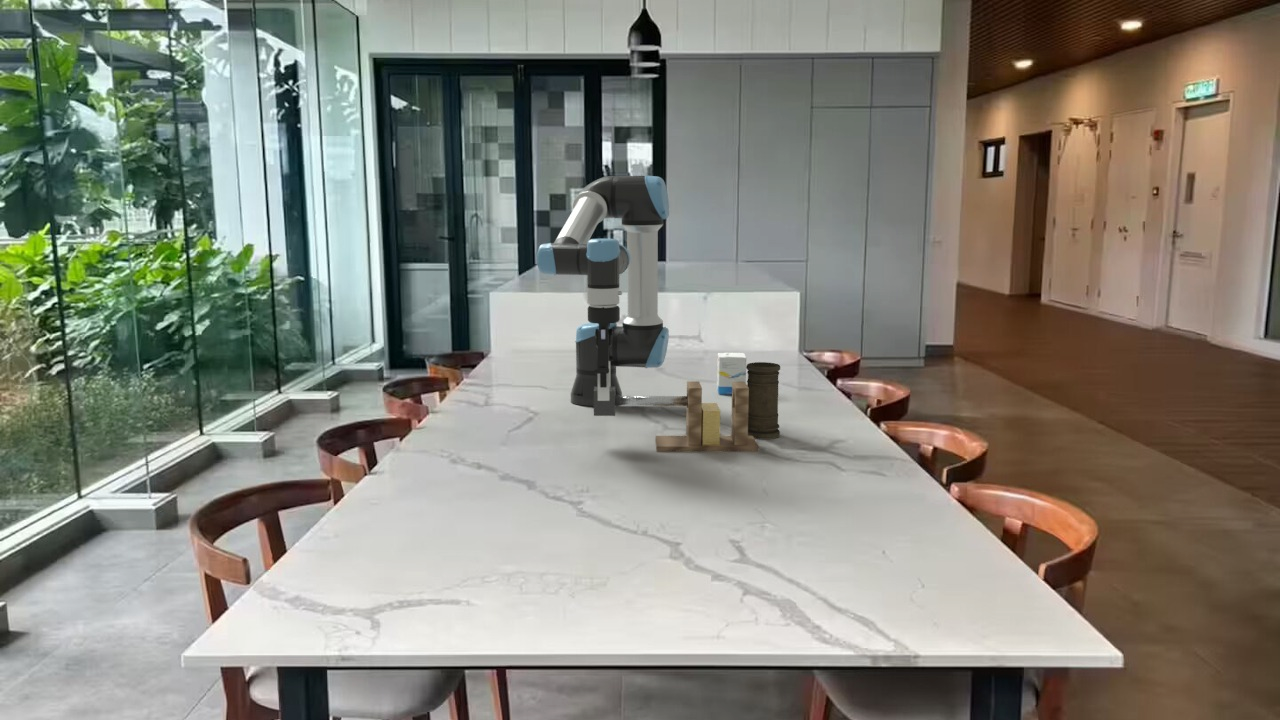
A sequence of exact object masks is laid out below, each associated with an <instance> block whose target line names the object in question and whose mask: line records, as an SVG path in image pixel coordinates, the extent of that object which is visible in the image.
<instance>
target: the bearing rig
mask: <svg viewBox="0 0 1280 720" xmlns="http://www.w3.org/2000/svg"><path fill="white" fill-rule="evenodd" d="M747 384H748V383H747V382H746V383H745V382H732V395H731V421H730V422H731V423H730V424H731V427H730V429H731V430H730V435H720V446H703V445H702V442H701V414H702V403H703V395H702V394H703V388H702V385H701V382H700V381H698V380H697V381H690V380H688V381H686V396H688V406H686V418H685V421H686V423H685V424H686V427H685V429H686V430H685V431H686V432H685V434H686V435H655V436H654V437H655V449H656V452H759V447H760V446H759V445H758V443H757V441H756V438H754V437H753V436H748V404H749V388H748V386H747Z"/></svg>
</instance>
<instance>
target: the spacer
mask: <svg viewBox="0 0 1280 720" xmlns="http://www.w3.org/2000/svg"><path fill="white" fill-rule="evenodd" d="M720 432H721V410H720V407H719V405H718V403H717V402H702V414H701V442H702V445H703V446H720V436H721V435H720V434H721V433H720Z"/></svg>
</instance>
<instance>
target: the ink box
mask: <svg viewBox="0 0 1280 720" xmlns="http://www.w3.org/2000/svg"><path fill="white" fill-rule="evenodd" d="M716 360H717V361H716V362H717V366H716V391H717V393H718V395H719V396H720V395H731V396H732V382H745V383H746V384H747V368H746V366H747V356H746V354H745V352H718V353H717V359H716Z"/></svg>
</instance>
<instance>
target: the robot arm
mask: <svg viewBox="0 0 1280 720" xmlns="http://www.w3.org/2000/svg"><path fill="white" fill-rule="evenodd" d="M669 214H670V202H669V194H668V189H667V186H666V182H665V181H664V179H663V178H662V177H660V176H658V175H657V176H656V175H655V176H653V175H647V174H646V175H609V176H608V175H607V176H603V177H600V178H598V179H596V180H593V181H592V182H590V183H589V184H587V185H585V187H583V188H582V189H581V190H580V191H579V192H578V194H576V196H575V199H574V200H573V203H572V211H571V213H570V215H569V216H568V218H567V220H566V221H565V223H564V225H563V227H562V228H561V230H560V231H559V233H558V235H557V237H556V238H555V240H554V242H553V243H551V242H548V243H542V244H540V245H539V246H538V249H537V255H536V257H537V258H536V261H537V267H538V271H540V273H541V274H544V275H554V276H556V275H558V276H559V275H560V276H561V275H562V276H564V275H565V276H570V275H571V276H587V287H586V288H587V289H586V291H587V293H586V296H587V297H586V298H587V301H586V302H587V304H588V307H587V321H588V322H587V323H583V324H581V325H579V326H577V328H576V332H575V333H576V334H575V336H576V337H575V340H574V341H575V355H576V356H575V357H576V358H575V363H576V364H575V365H576V366H575V367H576V371H575V372H576V374H575V378H574V381H573V385H572V388H571V391H570V402H571V403H573V404H575V405H578V406H589V407H594V387H598V401H609V387H615V396H623V392H622V389H621V386H620V383H619V379H618V377H617V367H620V368H621V367H623V368H644V369H648V368H649V369H653V368H659V367H661V366H662V365H663V363H665V359H666V356H667V351H668V347H669V337H670V336H669V335H670V333H669V331H670V330H669V328H668V327H666V326H664V321H663V319H662V318H661V317H660V316H659V314H658V311H659V310H658V307H659V306H658V305H659V302H658V301H659V297H658V296H659V295H658V294H659V293H658V287H659V286H658V280H659V277H658V276H659V274H658V273H659V271H658V270H659V267H658V266H659V265H658V263H659V261H658V260H659V258H658V257H659V256H658V254H659V253H658V251H659V250H658V241H659V240H658V239H659V237H658V234H659V233H658V232H659V230H660V229H661V228H662V227H663V226H664V220H666V219H668V218H669V216H670V215H669ZM605 219H621V226H622V227H623V228H624V229H625V230H626V242H627V243H626V246H624V245H623V244H620V242H619V240H618V239H615V238H591V237H592V235H593V233H594V232H595V230H596V229H597V226H598V225H599V223H601V222H603V220H605ZM626 270H627V272H626V273H627V276H626V277H627V280H626V281H627V316H626V317H624V319H623V320H622V326H617V325H618V324H617V323H618V322H620V321H621V320H620V319H621V318H620V316H621V315H620V312H621V308H620V306H619V304H620V296H622V295H623V292H622V291H621V290H620V275H622V274H623V273H625V271H626Z"/></svg>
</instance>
